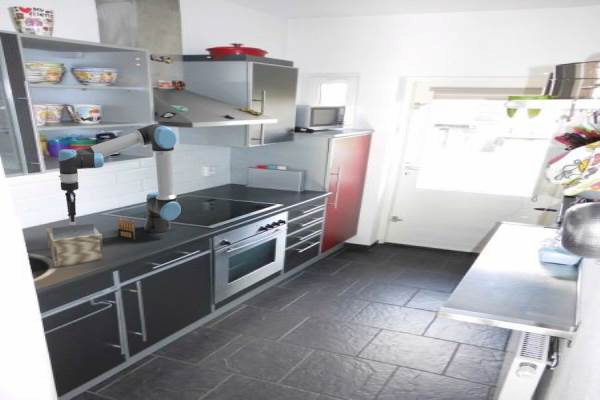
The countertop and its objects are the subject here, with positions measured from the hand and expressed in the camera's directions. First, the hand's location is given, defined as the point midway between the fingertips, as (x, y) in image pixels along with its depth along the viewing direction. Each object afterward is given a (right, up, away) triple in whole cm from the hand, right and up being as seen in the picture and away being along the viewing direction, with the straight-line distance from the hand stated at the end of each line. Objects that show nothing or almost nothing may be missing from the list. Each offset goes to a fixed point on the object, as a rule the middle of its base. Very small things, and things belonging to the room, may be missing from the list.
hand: (72, 227), depth 199 cm
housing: (0, -14, +2) cm, 14 cm away
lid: (+4, -4, -5) cm, 7 cm away
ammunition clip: (+15, -8, +28) cm, 33 cm away
